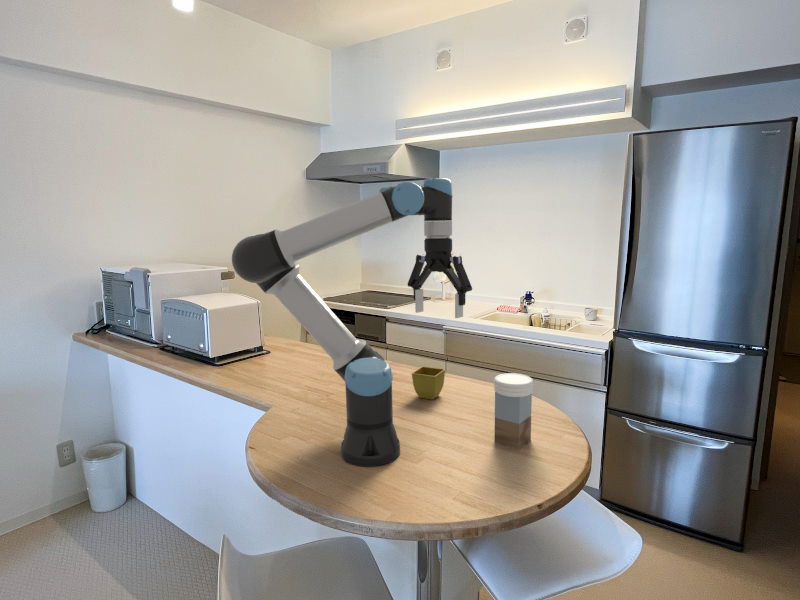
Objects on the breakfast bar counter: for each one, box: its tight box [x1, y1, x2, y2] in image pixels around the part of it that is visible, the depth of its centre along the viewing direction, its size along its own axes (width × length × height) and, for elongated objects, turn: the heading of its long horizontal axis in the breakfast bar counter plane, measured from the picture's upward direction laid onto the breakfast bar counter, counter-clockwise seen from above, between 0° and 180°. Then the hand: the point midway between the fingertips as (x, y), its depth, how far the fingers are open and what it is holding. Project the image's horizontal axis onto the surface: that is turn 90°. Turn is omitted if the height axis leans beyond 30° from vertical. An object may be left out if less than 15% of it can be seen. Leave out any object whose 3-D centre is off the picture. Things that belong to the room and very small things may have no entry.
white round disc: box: [493, 372, 534, 397], centre depth 127 cm, size 10×10×4 cm
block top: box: [494, 391, 533, 424], centre depth 127 cm, size 7×7×7 cm
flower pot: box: [411, 366, 446, 400], centre depth 162 cm, size 9×9×9 cm
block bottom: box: [494, 415, 532, 451], centre depth 128 cm, size 7×7×7 cm
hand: (438, 314), depth 134 cm, fingers open, 13 cm apart
